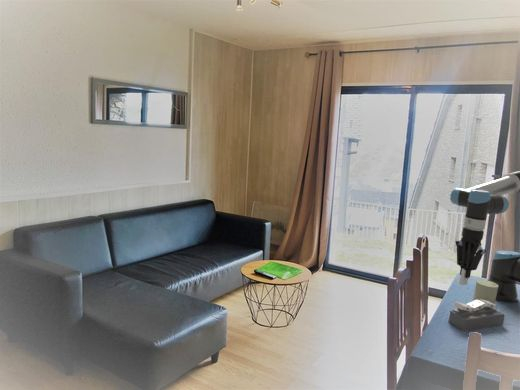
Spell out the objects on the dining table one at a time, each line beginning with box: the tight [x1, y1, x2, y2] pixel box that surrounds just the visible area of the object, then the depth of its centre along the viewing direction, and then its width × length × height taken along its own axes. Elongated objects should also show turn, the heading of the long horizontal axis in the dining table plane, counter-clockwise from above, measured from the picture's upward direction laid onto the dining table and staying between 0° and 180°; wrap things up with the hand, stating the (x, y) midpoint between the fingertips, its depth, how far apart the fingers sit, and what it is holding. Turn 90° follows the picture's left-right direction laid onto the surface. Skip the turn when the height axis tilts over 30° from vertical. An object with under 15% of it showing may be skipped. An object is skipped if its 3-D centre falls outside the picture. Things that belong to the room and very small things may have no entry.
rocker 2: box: [465, 300, 485, 311], centre depth 175 cm, size 6×4×2 cm
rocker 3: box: [479, 299, 498, 310], centre depth 177 cm, size 6×4×2 cm
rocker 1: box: [453, 301, 473, 312], centre depth 172 cm, size 6×4×2 cm
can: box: [472, 279, 498, 305], centre depth 192 cm, size 9×9×12 cm
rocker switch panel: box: [448, 306, 505, 332], centre depth 174 cm, size 22×8×6 cm, turn 112°
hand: (463, 284), depth 169 cm, fingers closed
